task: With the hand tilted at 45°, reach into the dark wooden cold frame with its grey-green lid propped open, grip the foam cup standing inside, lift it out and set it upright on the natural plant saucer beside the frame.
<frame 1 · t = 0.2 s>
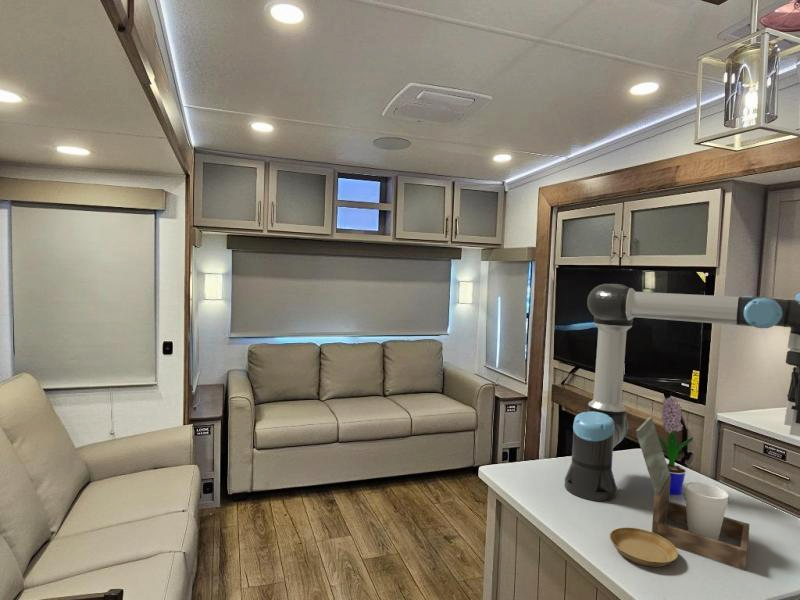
hand: (793, 430, 127), 27 cm above the counter, tool pointing down, fingers open, 13 cm apart
cold frame: (700, 540, 122), on the counter
plant saucer: (642, 554, 115), on the counter
hyacinth: (672, 491, 150), on the counter
foam cup: (702, 540, 122), resting in cold frame
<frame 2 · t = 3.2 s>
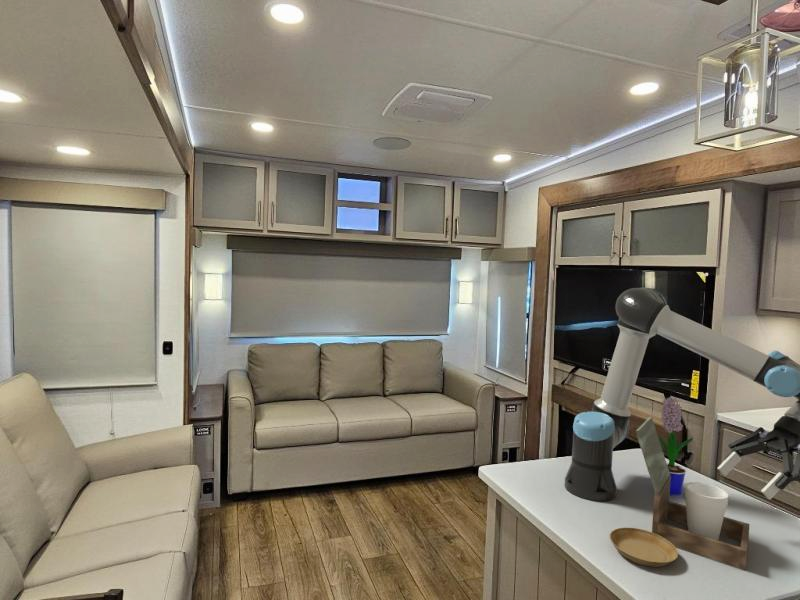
hand: (741, 483, 122), 15 cm above the counter, tool tilted 45°, fingers open, 13 cm apart
nothing on the counter moved.
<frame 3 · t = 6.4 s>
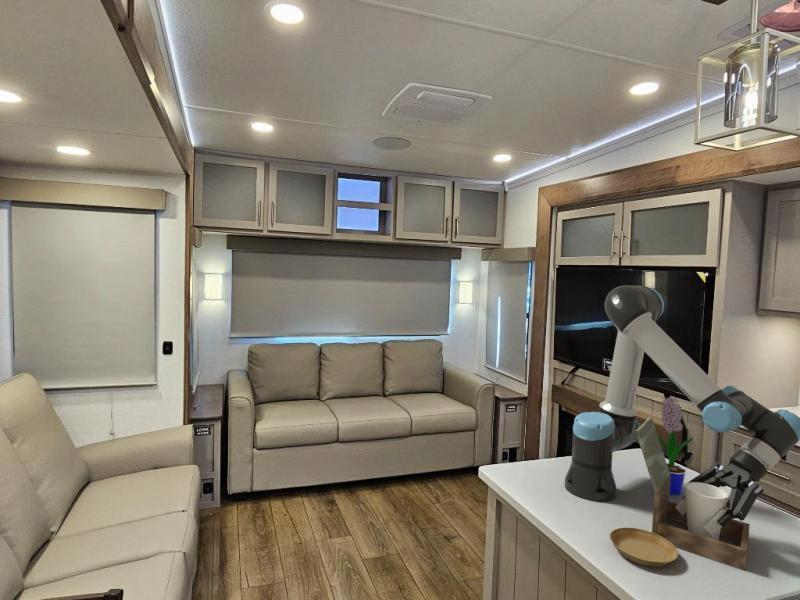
hand: (692, 521, 121), 5 cm above the counter, tool tilted 45°, fingers closed on foam cup, 9 cm apart
foam cup: (702, 540, 122), resting in cold frame, touching gripper
everything else where it was.
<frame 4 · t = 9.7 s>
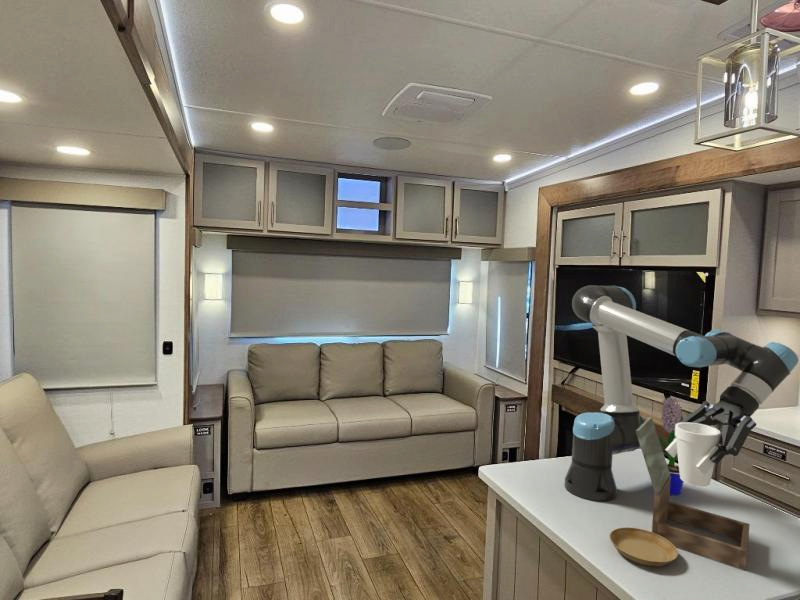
hand: (684, 461, 116), 22 cm above the counter, tool tilted 45°, fingers closed on foam cup, 9 cm apart
foam cup: (694, 481, 117), point 17 cm above the counter, touching gripper
everything else where it was.
when the fingers open (14 cm above the counter, at t = 13.0 s): foam cup drops 7 cm, resting on plant saucer.
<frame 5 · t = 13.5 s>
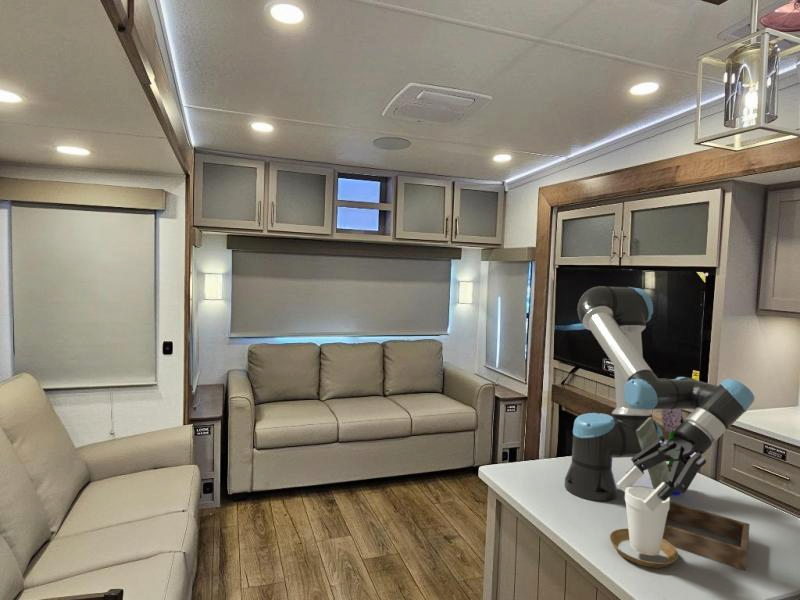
hand: (633, 496, 113), 14 cm above the counter, tool tilted 45°, fingers open, 10 cm apart
plant saucer: (642, 555, 115), on the counter, touching foam cup
foam cup: (644, 548, 113), point 2 cm above the counter, touching gripper, plant saucer
everything else where it was.
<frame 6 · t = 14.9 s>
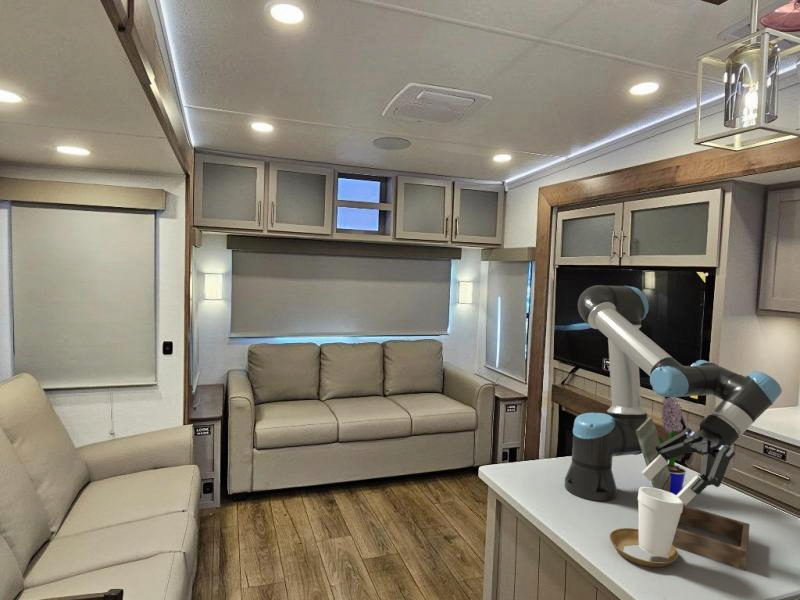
hand: (662, 487, 114), 16 cm above the counter, tool tilted 45°, fingers open, 12 cm apart
foam cup: (653, 550, 112), point 2 cm above the counter, touching plant saucer
everything else where it was.
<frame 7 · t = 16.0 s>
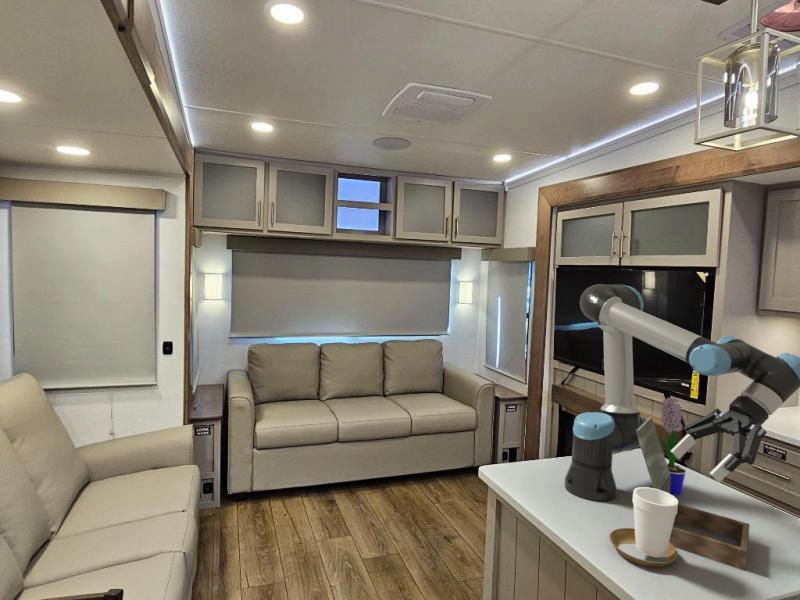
hand: (693, 466, 116), 21 cm above the counter, tool tilted 45°, fingers open, 13 cm apart
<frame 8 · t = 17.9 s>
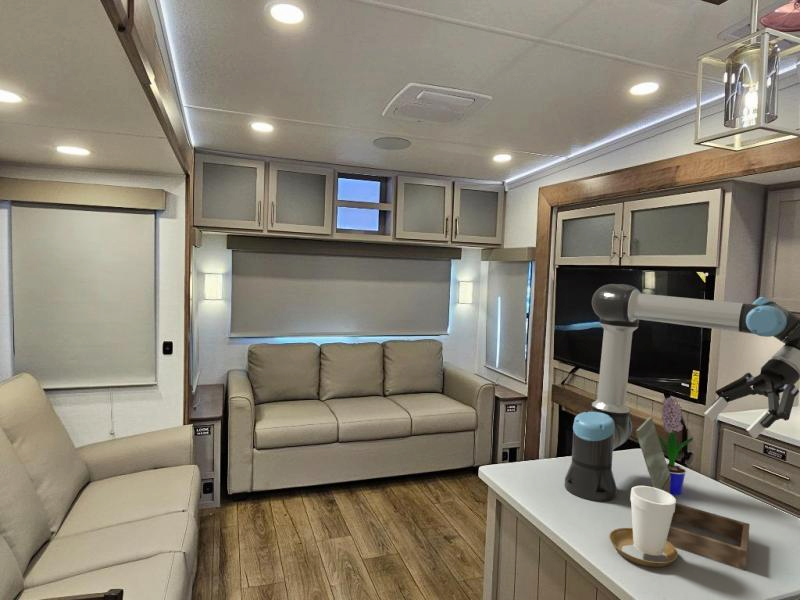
hand: (728, 425, 121), 30 cm above the counter, tool tilted 45°, fingers open, 13 cm apart
at the end: foam cup inside the target area on the plant saucer (1.7 cm from its centre), point 2.7 cm above the plant saucer's base; foam cup tilted 1°; the gripper is holding nothing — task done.
